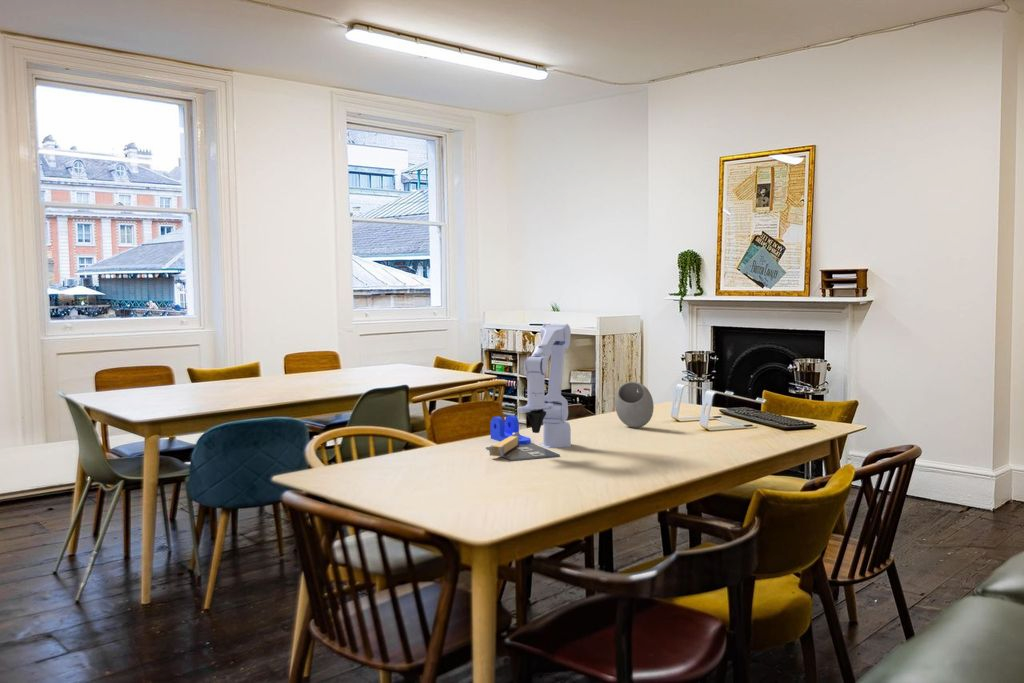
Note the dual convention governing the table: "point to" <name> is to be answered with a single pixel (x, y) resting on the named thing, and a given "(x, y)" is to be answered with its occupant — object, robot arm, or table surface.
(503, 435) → the bracket
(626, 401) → the planter
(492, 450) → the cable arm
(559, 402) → the robot arm
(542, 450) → the panel
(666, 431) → the table surface
